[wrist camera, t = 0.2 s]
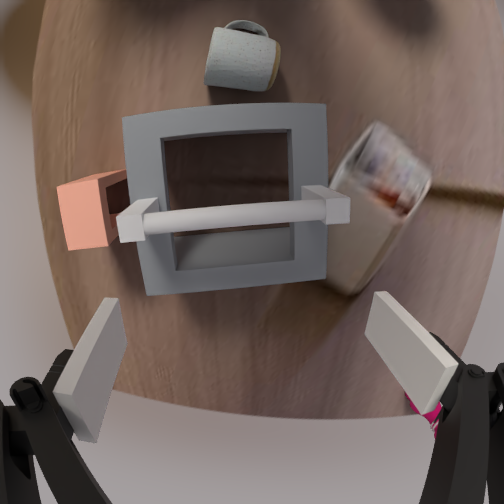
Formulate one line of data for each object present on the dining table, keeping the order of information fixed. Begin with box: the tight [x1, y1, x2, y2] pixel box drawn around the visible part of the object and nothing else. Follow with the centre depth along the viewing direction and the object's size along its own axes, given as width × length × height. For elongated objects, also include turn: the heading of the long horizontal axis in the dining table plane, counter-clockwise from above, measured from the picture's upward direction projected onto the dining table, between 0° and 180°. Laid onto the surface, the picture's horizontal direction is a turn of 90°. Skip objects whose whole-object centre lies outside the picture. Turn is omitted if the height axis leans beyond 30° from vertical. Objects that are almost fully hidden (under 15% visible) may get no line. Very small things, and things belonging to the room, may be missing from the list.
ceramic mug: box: [204, 20, 281, 91], centre depth 30 cm, size 11×8×8 cm
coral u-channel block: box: [57, 169, 127, 250], centre depth 33 cm, size 7×5×11 cm
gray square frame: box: [116, 103, 350, 296], centre depth 30 cm, size 18×19×19 cm
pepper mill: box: [405, 392, 442, 439], centre depth 51 cm, size 7×7×20 cm
